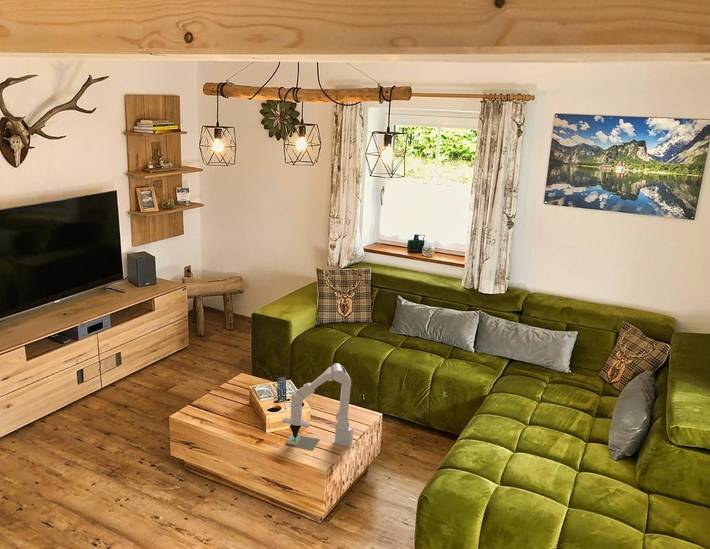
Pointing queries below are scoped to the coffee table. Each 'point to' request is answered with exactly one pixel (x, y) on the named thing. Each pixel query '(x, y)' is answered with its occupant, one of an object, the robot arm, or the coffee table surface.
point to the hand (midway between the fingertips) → (295, 436)
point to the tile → (293, 440)
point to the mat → (305, 443)
